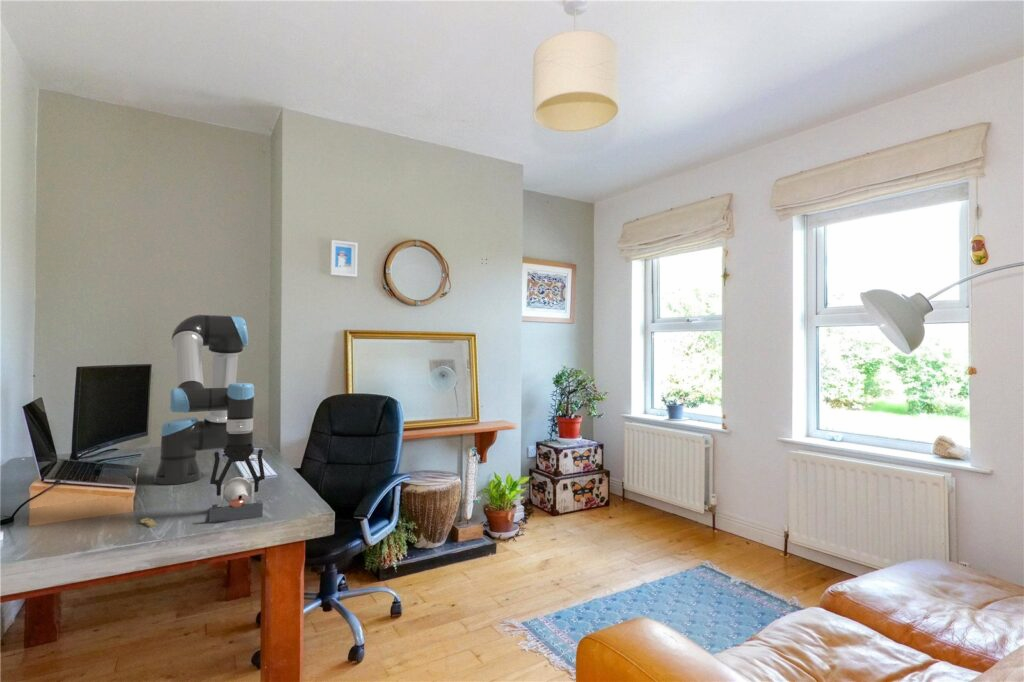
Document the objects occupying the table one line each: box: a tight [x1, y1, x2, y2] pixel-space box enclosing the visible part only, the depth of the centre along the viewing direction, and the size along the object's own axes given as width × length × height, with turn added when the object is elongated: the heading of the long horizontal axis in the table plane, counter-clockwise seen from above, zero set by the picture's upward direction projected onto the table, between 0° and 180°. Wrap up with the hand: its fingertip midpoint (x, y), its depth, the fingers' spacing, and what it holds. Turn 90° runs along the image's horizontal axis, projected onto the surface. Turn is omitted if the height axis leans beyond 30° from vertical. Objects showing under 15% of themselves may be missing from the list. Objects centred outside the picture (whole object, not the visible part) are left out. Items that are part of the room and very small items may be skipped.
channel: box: [208, 498, 264, 524], centre depth 160 cm, size 16×14×6 cm
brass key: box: [140, 517, 158, 528], centre depth 149 cm, size 7×3×1 cm, turn 52°
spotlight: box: [224, 476, 252, 504], centre depth 162 cm, size 8×11×8 cm
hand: (237, 503), depth 163 cm, fingers closed on spotlight, 8 cm apart
